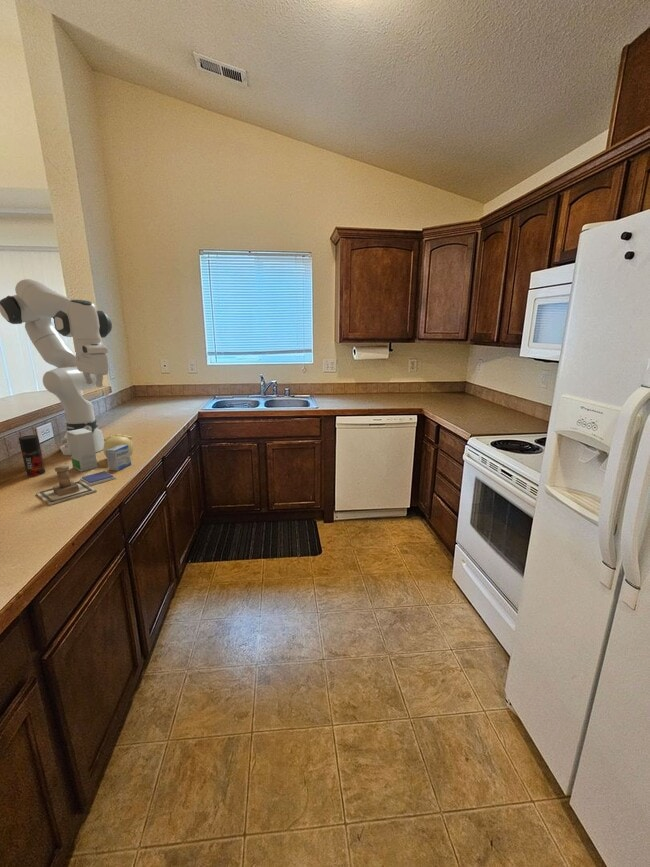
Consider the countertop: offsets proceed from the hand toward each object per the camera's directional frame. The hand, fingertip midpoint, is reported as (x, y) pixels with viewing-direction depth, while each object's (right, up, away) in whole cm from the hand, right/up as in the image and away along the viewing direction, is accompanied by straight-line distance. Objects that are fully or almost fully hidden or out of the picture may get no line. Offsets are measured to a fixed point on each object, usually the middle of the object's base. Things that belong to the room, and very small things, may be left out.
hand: (94, 385), depth 141 cm
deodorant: (-29, -34, +9) cm, 45 cm away
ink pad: (0, -35, +3) cm, 35 cm away
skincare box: (-13, -32, +16) cm, 38 cm away
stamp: (-4, -38, -9) cm, 39 cm away
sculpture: (-5, -29, +27) cm, 40 cm away
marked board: (-4, -38, -9) cm, 40 cm away
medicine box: (+1, -32, +15) cm, 35 cm away
